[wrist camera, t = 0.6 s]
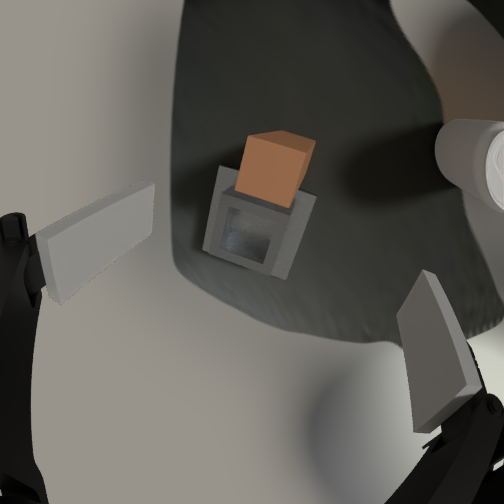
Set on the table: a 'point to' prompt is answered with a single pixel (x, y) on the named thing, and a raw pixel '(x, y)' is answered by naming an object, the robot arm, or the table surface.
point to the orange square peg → (274, 166)
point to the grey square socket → (255, 227)
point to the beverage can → (474, 158)
